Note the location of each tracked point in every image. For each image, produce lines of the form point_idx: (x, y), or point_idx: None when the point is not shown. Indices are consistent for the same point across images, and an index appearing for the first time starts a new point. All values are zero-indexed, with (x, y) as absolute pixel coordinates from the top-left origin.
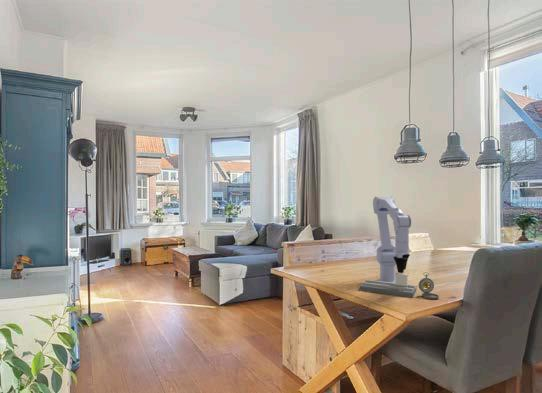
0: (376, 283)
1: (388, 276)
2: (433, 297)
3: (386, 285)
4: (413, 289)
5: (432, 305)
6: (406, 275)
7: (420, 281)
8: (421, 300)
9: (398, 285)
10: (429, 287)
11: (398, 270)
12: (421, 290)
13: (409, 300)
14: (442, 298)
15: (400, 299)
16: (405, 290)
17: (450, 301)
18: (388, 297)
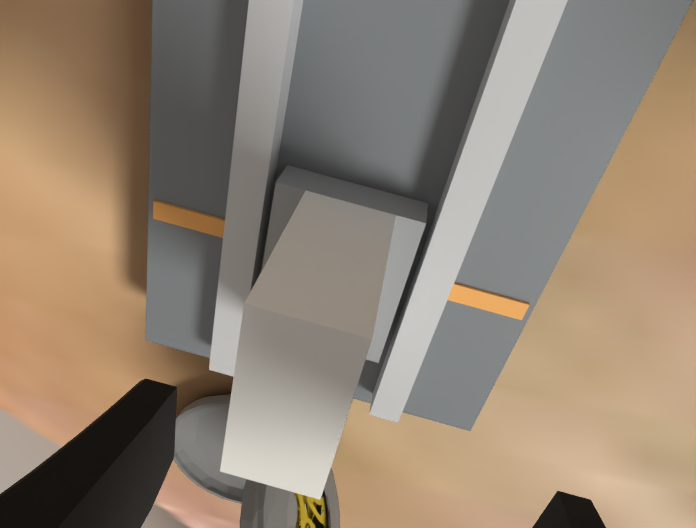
0: None
1: None
2: (173, 459)
3: (250, 24)
4: None
5: (8, 396)
6: (222, 458)
7: (240, 520)
8: (105, 355)
9: (276, 232)
10: (326, 522)
11: (109, 423)
12: None
13: (40, 255)
14: None
15: (19, 169)
16: (212, 281)
17: (192, 523)
18: (15, 22)
